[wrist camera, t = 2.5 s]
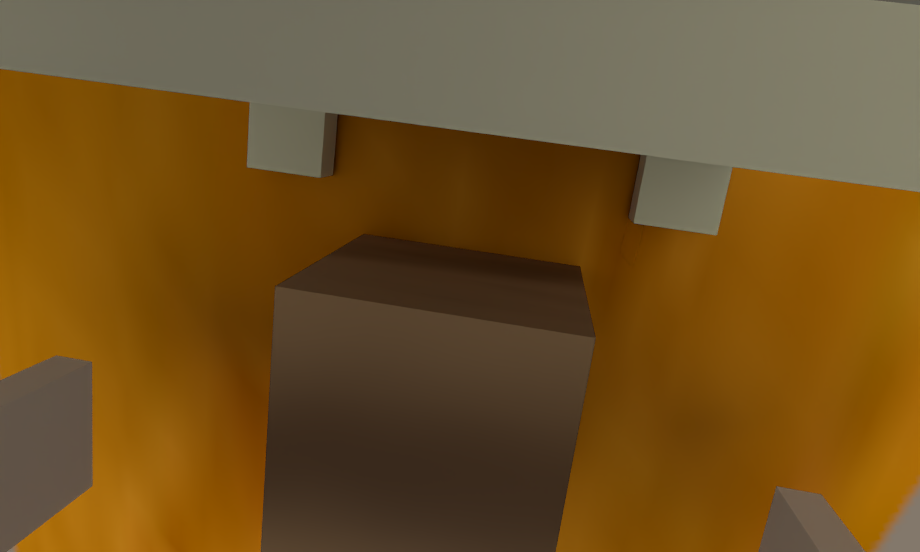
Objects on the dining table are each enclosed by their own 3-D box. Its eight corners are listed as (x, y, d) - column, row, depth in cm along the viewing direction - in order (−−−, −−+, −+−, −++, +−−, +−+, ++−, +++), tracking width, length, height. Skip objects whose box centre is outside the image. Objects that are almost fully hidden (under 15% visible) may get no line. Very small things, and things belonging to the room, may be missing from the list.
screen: (273, -31, 16) (-400, -416, 5) (753, 23, 15) (1429, -315, 4) (263, 164, 18) (-291, 239, 6) (706, 229, 16) (1093, 477, 5)
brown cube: (364, 233, 18) (274, 286, 12) (579, 265, 17) (595, 338, 11) (346, 433, 19) (260, 566, 13) (543, 470, 19) (541, 625, 13)
